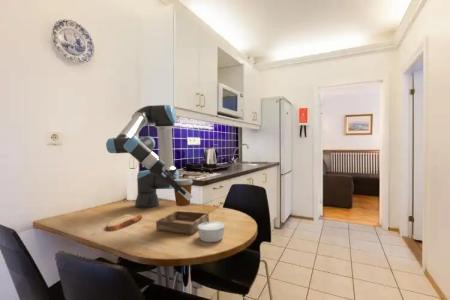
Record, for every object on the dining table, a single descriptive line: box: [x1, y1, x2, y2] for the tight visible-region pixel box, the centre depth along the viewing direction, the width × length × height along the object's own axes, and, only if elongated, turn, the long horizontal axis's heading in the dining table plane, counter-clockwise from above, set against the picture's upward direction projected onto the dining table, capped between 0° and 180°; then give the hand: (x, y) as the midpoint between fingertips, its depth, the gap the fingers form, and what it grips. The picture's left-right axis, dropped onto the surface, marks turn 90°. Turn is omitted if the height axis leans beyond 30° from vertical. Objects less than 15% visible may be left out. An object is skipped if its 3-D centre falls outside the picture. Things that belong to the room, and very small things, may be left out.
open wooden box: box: [155, 210, 210, 236], centre depth 114 cm, size 18×18×4 cm
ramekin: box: [197, 221, 226, 243], centre depth 98 cm, size 11×11×5 cm
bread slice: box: [105, 213, 143, 232], centre depth 121 cm, size 18×18×4 cm
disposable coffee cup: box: [173, 177, 194, 207], centre depth 113 cm, size 10×10×12 cm
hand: (189, 196), depth 114 cm, fingers closed on disposable coffee cup, 9 cm apart
